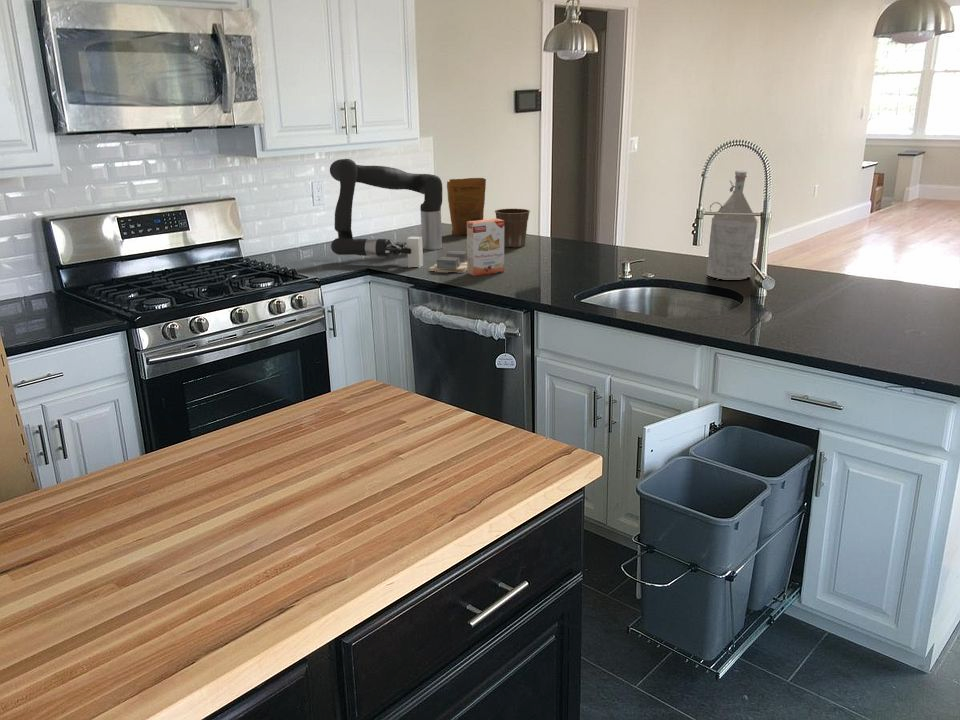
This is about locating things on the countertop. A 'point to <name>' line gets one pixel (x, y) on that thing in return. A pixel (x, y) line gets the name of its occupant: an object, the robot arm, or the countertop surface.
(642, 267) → the countertop surface
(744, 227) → the grey jug
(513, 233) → the plant pot
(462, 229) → the pancake mix bag
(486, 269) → the cracker box
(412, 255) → the white block
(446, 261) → the board
